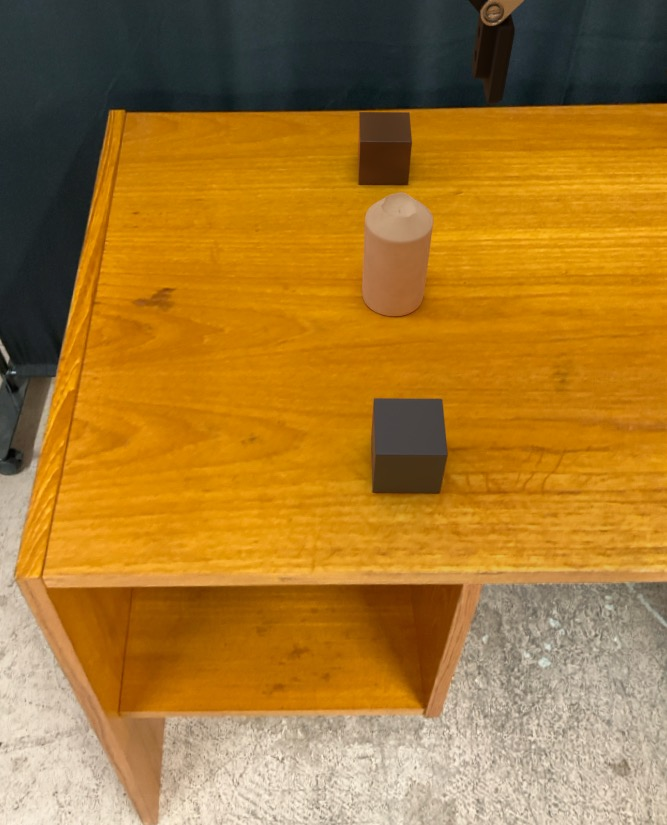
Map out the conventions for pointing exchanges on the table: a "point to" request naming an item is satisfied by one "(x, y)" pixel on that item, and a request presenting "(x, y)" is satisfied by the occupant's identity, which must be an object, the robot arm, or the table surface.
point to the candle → (396, 254)
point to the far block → (384, 148)
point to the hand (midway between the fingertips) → (584, 89)
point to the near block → (408, 445)
